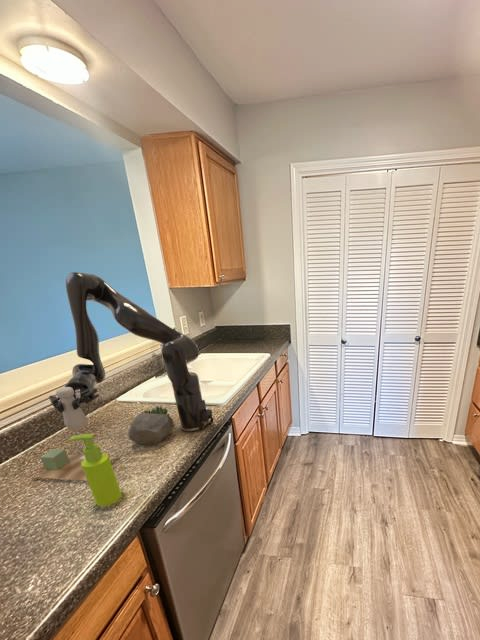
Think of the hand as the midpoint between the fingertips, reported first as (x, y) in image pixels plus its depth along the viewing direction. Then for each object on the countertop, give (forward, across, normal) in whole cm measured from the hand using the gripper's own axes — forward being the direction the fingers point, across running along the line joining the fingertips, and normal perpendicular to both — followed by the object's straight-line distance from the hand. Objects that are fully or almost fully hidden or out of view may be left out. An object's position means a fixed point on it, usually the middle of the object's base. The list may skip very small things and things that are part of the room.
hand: (67, 407), depth 94 cm
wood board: (+2, -3, +20) cm, 20 cm away
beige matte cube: (+5, +3, +19) cm, 20 cm away
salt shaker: (-3, 0, +8) cm, 9 cm away
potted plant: (-7, +20, +20) cm, 29 cm away
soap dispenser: (+23, +8, +20) cm, 31 cm away
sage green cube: (-1, -8, +19) cm, 21 cm away
